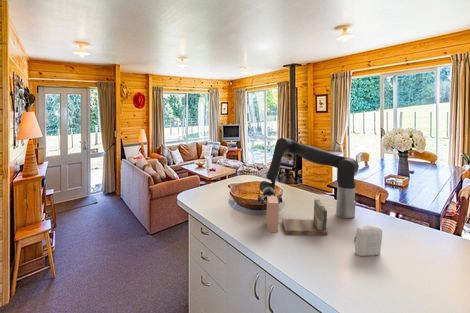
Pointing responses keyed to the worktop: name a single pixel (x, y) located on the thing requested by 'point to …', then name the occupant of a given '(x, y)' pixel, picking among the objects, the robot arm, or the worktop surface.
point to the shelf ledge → (308, 222)
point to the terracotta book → (272, 213)
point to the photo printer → (368, 240)
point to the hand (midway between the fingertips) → (270, 202)
